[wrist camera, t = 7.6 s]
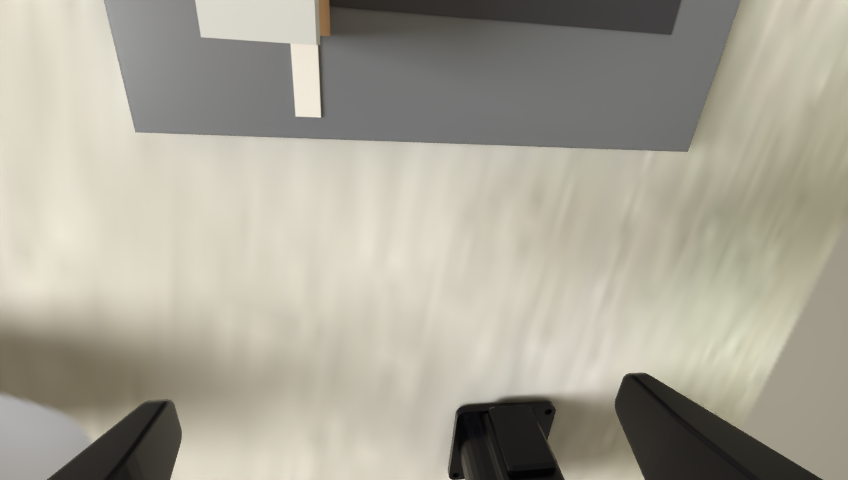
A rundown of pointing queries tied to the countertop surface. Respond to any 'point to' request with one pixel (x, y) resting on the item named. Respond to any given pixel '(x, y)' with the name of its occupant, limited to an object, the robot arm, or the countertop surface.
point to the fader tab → (265, 20)
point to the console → (435, 72)
